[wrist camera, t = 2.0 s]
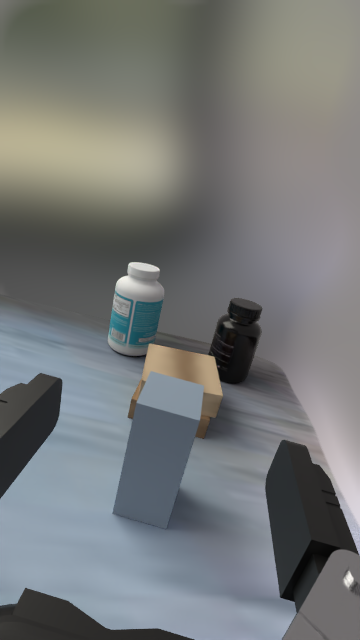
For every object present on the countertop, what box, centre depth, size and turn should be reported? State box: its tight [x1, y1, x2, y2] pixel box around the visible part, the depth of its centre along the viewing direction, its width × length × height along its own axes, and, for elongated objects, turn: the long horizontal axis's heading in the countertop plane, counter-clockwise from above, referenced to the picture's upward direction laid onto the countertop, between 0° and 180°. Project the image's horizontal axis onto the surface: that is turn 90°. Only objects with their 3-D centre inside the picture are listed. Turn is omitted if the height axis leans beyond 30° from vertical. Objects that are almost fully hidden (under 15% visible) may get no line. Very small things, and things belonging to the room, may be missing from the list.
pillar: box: [113, 371, 204, 529], centre depth 26 cm, size 4×4×11 cm
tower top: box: [138, 343, 223, 418], centre depth 40 cm, size 9×9×3 cm
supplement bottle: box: [208, 298, 262, 383], centre depth 50 cm, size 7×7×12 cm
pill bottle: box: [108, 262, 164, 356], centre depth 50 cm, size 8×7×14 cm
